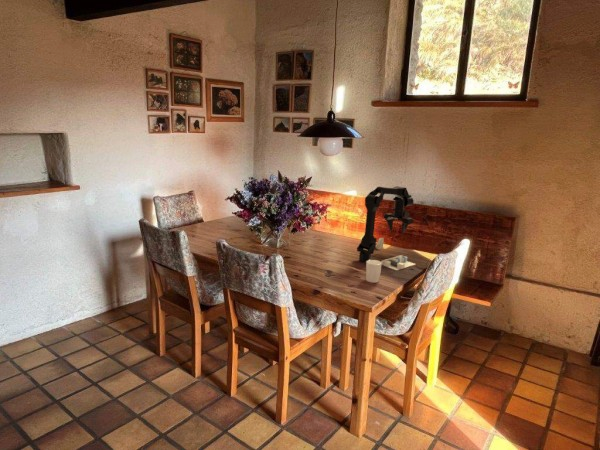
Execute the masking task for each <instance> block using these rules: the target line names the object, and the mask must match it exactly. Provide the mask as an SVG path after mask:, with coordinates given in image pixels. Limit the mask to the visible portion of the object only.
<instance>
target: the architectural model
mask: <svg viewBox="0 0 600 450" xmlns="http://www.w3.org/2000/svg"><path fill="white" fill-rule="evenodd" d="M384 239H385V238H384V237H379V238H378V239H377V240H378V241H376V246H375V250H378V251H379V250H381V249H383V248H384Z"/></svg>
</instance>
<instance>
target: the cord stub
mask: <svg viewBox="0 0 600 450" xmlns="http://www.w3.org/2000/svg"><path fill="white" fill-rule="evenodd" d="M389 261H390V262H391V265H393V266H396V267H397V268H400V269H399V270H403V269H406V267H405V264H404V263H401V262H400V263H399V262H396V261H393V260H389Z"/></svg>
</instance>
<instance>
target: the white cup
mask: <svg viewBox="0 0 600 450" xmlns="http://www.w3.org/2000/svg"><path fill="white" fill-rule="evenodd" d="M365 266H366V267H365V273H366V274H365V275H366V277H365V279H366V282H368V283H373V284H374V283H378V282H380V279H381V272H382V271H381V270H382V266H383V265H382V262H381V261H380V260H377V259H371V260H368V261H366V263H365Z"/></svg>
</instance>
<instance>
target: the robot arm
mask: <svg viewBox="0 0 600 450" xmlns="http://www.w3.org/2000/svg"><path fill="white" fill-rule="evenodd" d="M378 194H379V195H378ZM384 195H393V196H394V197H393V198H392V201H394V205H393V206H394V208H392V211H393V213H391V212H388V213H384V214H383V219H384V220H385V221H386V224H387V225H388V228H389V230H390V231H392V230H393V226H394V221H395V220H397V221H401V222H402V223H401V234H403V235H404V234H405V232H406V229H407V228H408V226H409V225H411V224H414V219H413V217H409V216H410V212H409V211H406V209H405V207H411V206H412V205H413V204H414V198H413V197H412V195H411V194H409V191H408V189H407V187H404V186H398V185H397V186H396V185H395V186H393V187H387V186H385V187H384V186H377V187H376V188H375V189H374V190H372V191H370V192H369V193H368V194H367V195H366V196H365V198H364V206H365V209H366V219H365V220H366V221H365V231H364V234H363V236H362V238H361V239H360V243H359V244H358V246H356V247H357V248H356V251H357V252H359V256H358V261H359V262H360V263H362V264H363V263H364V264H366V261H368V260H372V259H371V258H372V257H371V256H372V255H373V254H374V252H375V250H376V246H377V245H376V243H377V240H378V239H377V238H376V237H375V236H374V235H375V234H374V232H375V223H376V216H377V215H376V214H377V210H378V209H379V208H380V204H381V202H382V201H383V200H384Z"/></svg>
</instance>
